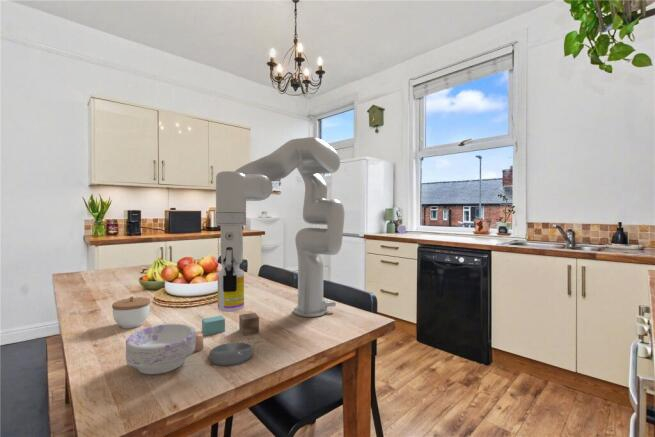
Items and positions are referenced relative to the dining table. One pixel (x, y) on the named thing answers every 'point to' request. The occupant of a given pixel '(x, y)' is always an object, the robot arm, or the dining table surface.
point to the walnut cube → (248, 324)
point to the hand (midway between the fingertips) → (231, 287)
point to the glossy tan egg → (198, 341)
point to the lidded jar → (131, 311)
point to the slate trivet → (231, 354)
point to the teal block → (213, 325)
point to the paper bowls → (160, 347)
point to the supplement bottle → (231, 299)
